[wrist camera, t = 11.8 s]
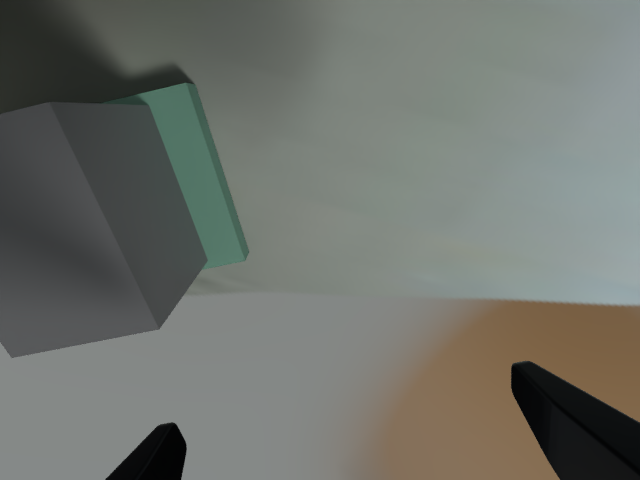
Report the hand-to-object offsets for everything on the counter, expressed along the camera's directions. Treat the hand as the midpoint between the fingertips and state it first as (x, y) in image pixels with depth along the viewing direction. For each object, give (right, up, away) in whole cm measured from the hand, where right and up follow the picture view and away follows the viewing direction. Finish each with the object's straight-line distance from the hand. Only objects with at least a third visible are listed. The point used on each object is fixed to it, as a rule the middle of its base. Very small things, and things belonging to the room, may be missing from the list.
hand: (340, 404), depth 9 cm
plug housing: (-10, +6, +8) cm, 14 cm away
